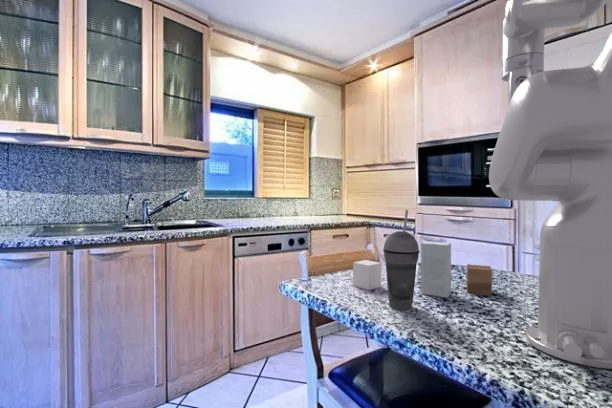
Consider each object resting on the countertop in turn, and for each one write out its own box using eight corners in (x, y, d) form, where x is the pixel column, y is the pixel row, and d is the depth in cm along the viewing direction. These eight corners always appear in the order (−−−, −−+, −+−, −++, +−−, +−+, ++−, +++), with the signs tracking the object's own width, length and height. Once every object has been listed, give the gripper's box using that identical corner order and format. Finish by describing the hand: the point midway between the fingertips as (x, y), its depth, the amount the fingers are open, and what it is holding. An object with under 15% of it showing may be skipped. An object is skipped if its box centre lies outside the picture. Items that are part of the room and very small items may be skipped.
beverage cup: (394, 298, 73) (395, 208, 72) (425, 306, 68) (426, 209, 67) (375, 306, 68) (376, 209, 67) (408, 315, 63) (409, 210, 62)
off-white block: (368, 290, 80) (368, 265, 80) (352, 285, 84) (353, 262, 83) (381, 286, 83) (381, 263, 83) (365, 282, 87) (365, 260, 87)
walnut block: (491, 296, 75) (491, 270, 75) (467, 293, 78) (467, 268, 77) (489, 290, 80) (489, 266, 80) (466, 288, 82) (467, 264, 82)
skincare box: (451, 293, 77) (452, 242, 77) (448, 298, 73) (448, 245, 73) (424, 289, 80) (425, 240, 80) (420, 294, 77) (420, 243, 76)
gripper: (545, 52, 62) (543, 148, 63) (542, 76, 75) (541, 156, 75) (499, 61, 67) (497, 151, 67) (504, 82, 79) (502, 158, 79)
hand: (520, 154), depth 71 cm, fingers closed
